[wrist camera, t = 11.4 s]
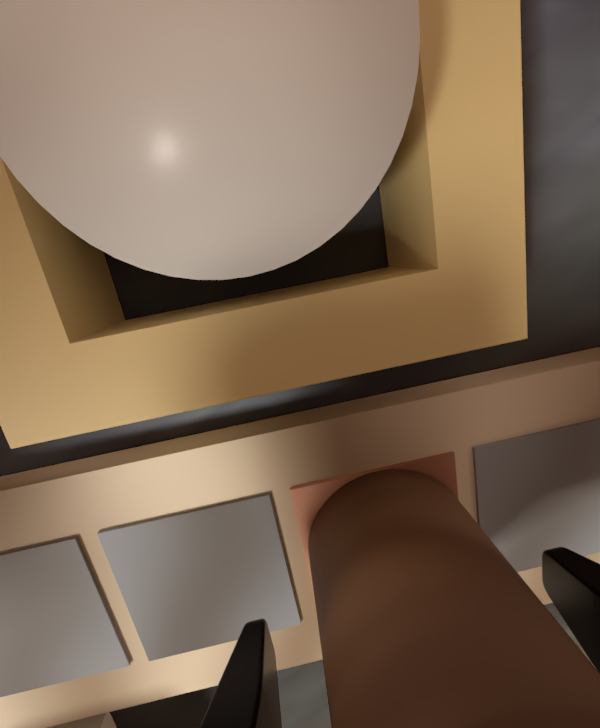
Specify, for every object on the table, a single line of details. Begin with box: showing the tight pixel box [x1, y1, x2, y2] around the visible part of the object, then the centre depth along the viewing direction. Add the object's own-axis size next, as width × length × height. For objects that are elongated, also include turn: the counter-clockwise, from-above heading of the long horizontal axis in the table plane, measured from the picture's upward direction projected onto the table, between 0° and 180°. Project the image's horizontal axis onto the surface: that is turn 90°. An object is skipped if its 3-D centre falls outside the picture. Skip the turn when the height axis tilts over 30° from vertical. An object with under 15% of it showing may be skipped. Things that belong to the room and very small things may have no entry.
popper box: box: [0, 0, 528, 449], centre depth 6 cm, size 9×9×2 cm
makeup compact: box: [0, 347, 600, 728], centre depth 10 cm, size 18×7×1 cm, turn 101°
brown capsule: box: [308, 469, 600, 728], centre depth 7 cm, size 4×4×5 cm
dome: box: [0, 0, 420, 280], centre depth 6 cm, size 5×5×3 cm
